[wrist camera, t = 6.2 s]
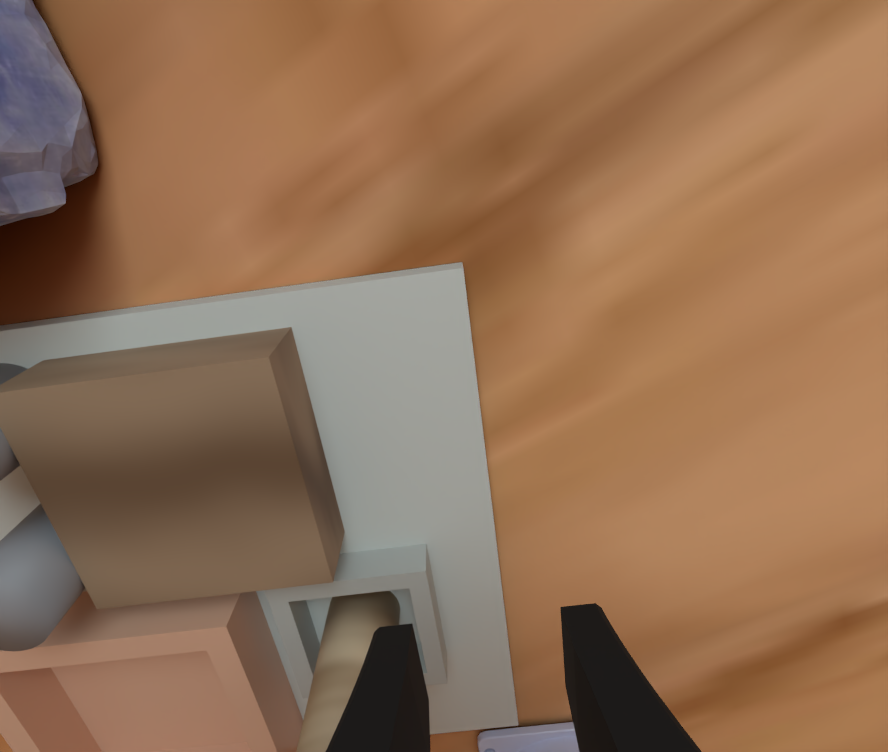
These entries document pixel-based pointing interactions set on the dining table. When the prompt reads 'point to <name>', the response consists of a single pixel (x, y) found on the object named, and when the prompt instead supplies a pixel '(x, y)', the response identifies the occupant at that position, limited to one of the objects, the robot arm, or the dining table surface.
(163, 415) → the square tan tile
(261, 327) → the jig board
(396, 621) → the dowel
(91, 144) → the mineral
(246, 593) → the tray
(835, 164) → the dining table surface
